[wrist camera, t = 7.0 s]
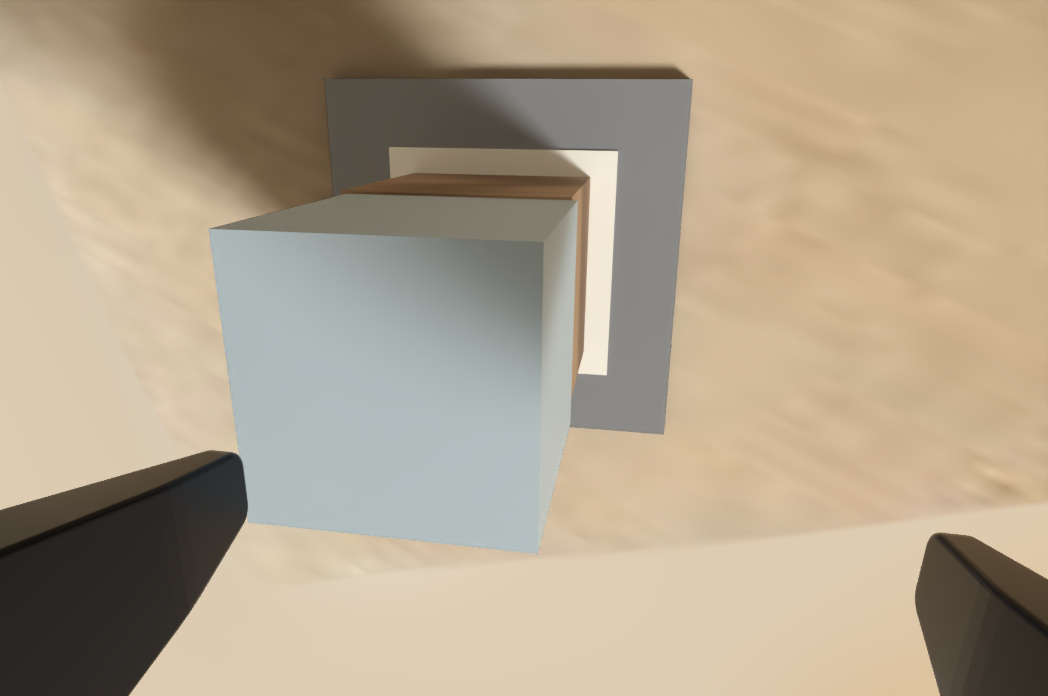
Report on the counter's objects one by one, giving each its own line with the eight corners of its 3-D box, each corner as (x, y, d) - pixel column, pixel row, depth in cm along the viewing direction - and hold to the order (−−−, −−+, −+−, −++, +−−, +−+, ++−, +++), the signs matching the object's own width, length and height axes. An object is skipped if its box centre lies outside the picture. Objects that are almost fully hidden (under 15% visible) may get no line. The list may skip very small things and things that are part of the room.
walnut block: (590, 177, 19) (572, 197, 14) (583, 351, 20) (564, 421, 16) (413, 173, 20) (340, 190, 15) (420, 341, 21) (356, 404, 17)
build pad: (691, 80, 18) (692, 78, 18) (663, 427, 21) (664, 435, 21) (331, 79, 20) (323, 78, 19) (355, 403, 23) (348, 410, 22)
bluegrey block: (570, 424, 16) (537, 553, 11) (361, 407, 17) (247, 522, 12) (578, 200, 14) (543, 241, 9) (346, 193, 15) (208, 228, 10)
